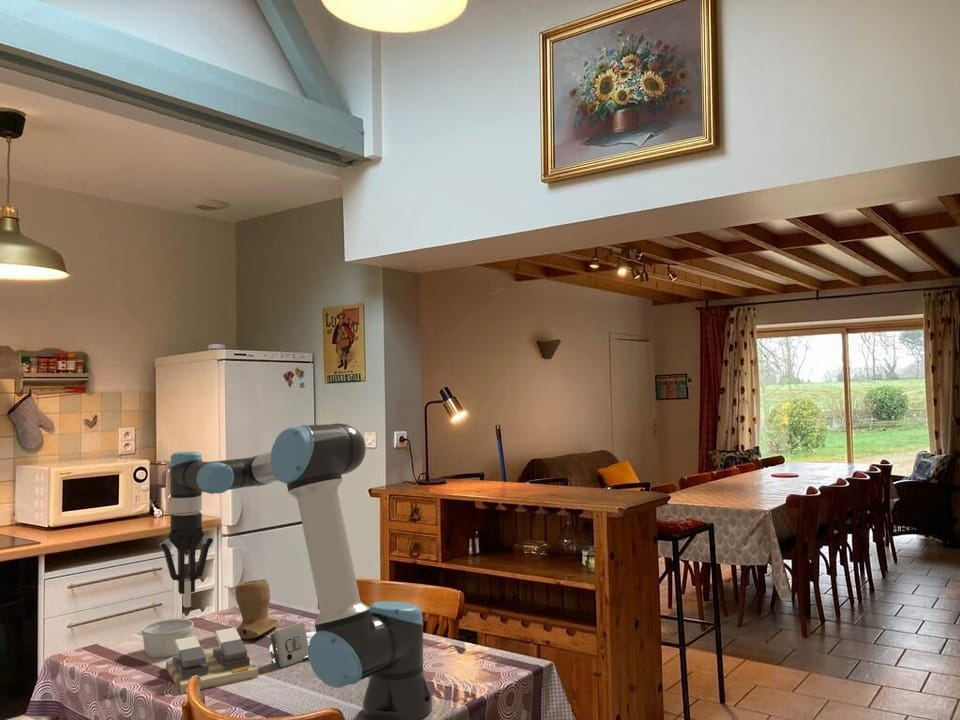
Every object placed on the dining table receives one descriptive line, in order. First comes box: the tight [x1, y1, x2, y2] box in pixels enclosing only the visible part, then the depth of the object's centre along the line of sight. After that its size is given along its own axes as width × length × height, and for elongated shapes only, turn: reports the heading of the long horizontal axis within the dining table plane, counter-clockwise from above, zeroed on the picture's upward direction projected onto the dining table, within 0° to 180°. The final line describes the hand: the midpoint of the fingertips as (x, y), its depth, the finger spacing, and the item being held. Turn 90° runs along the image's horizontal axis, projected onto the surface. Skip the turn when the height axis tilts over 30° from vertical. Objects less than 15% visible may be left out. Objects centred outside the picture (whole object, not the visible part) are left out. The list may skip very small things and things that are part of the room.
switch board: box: [165, 646, 259, 694], centre depth 197 cm, size 20×18×4 cm
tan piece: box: [234, 578, 281, 640], centre depth 229 cm, size 15×12×15 cm
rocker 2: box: [215, 627, 248, 661], centre depth 200 cm, size 12×5×2 cm, turn 32°
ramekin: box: [141, 618, 195, 658], centre depth 214 cm, size 13×13×7 cm
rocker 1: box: [175, 635, 206, 668], centre depth 194 cm, size 12×5×2 cm, turn 32°
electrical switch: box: [270, 622, 310, 668], centre depth 204 cm, size 9×5×9 cm, turn 141°
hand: (186, 605), depth 198 cm, fingers closed
